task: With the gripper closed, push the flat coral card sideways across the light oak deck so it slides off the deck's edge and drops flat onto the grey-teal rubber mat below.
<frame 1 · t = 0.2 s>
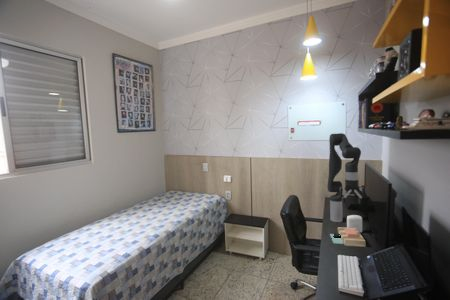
hand: (352, 203, 145), 28 cm above the table, fingers open, 8 cm apart
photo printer: (354, 231, 167), on the table
deck: (350, 239, 156), on the table
card: (351, 234, 155), point 4 cm above the table, touching deck
mat: (336, 238, 157), on the table
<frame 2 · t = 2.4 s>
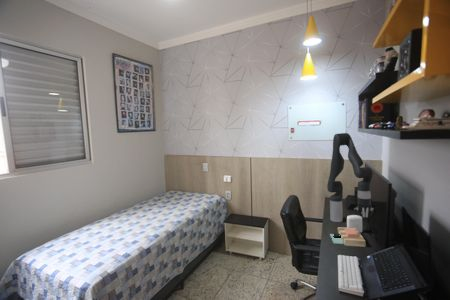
hand: (364, 222, 152), 13 cm above the table, fingers closed
nothing on the table moved.
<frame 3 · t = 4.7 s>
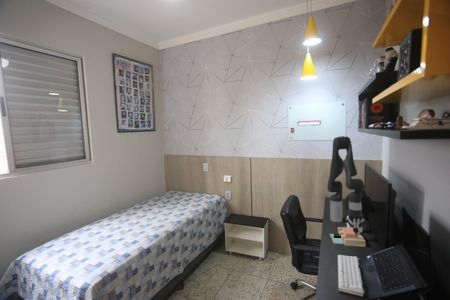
hand: (355, 232, 154), 5 cm above the table, fingers closed
card: (348, 234, 155), point 4 cm above the table
everything else where it was.
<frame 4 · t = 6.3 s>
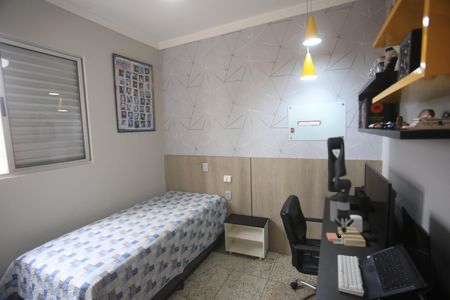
hand: (343, 232, 156), 5 cm above the table, fingers closed
card: (332, 235, 158), point 2 cm above the table, tilted 180°, touching mat
everything else where it was.
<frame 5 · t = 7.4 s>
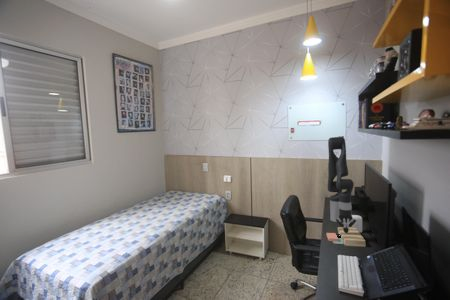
hand: (345, 232, 156), 5 cm above the table, fingers closed
nothing on the table moved.
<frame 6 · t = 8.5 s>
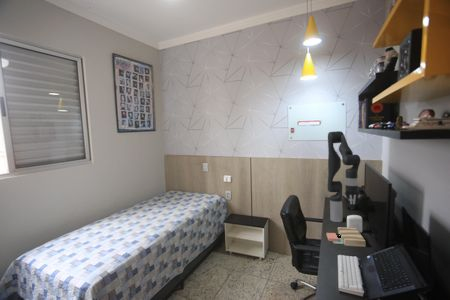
hand: (352, 209, 153), 22 cm above the table, fingers closed
nothing on the table moved.
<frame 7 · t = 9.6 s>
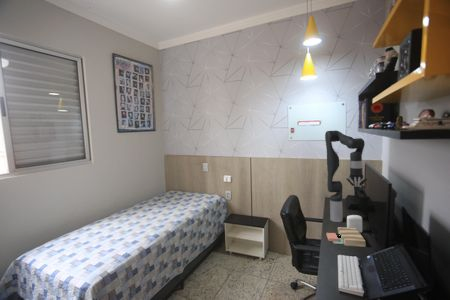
hand: (356, 191, 158), 32 cm above the table, fingers closed
nothing on the table moved.
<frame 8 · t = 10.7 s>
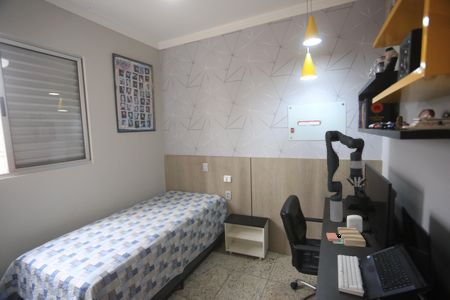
hand: (356, 191, 158), 32 cm above the table, fingers closed
nothing on the table moved.
at the end: card inside the target area (1.7 cm from its centre), point 2.3 cm above the table; card point 2.3 cm above the table; card touching mat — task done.
